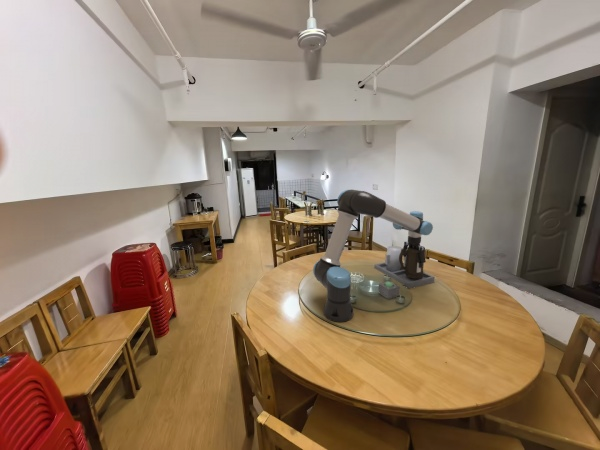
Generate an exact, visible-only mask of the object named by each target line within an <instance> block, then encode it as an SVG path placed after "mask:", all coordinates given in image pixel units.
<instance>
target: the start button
mask: <svg viewBox="0 0 600 450" xmlns="http://www.w3.org/2000/svg"><path fill="white" fill-rule="evenodd" d="M385 282H386V285H385V286H387V287H388V288H389V287H392V286H393V283H394V282H392V281H391V282H387V281H385Z"/></svg>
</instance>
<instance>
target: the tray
mask: <svg viewBox="0 0 600 450" xmlns="http://www.w3.org/2000/svg"><path fill="white" fill-rule="evenodd" d="M403 265H404V262H403ZM405 267H406V266H405ZM373 269H375V270H377V271H379V272H381V273H383V274H384V275H386V276H388V277H389V278H391V279H393V280H395V281H397V282H399V283H401V284H402V286H403V287H404V286H405V287H404V288H406V287H407V288H406V289H408V288H409V289H408V290H411V288H412V289H415V288H419V287H423V286H425V285H426V286H427V285H429V283H430V284H433V282H434V283H435V280H436V279H435V276H434V275H431V274H429V273H426V272H425V271H423V277H422V278H420V279H415V278H410V277H408V276H406V274H405V272H406V271H405V270H400V271H395V272H390V271H388V270H387V269H386V264H385V262H381V263H375V264H374V267H373ZM422 285H423V286H422ZM418 286H419V287H418ZM414 287H415V288H414Z"/></svg>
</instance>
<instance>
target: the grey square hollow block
mask: <svg viewBox="0 0 600 450" xmlns="http://www.w3.org/2000/svg"><path fill="white" fill-rule="evenodd" d="M386 282H392V281H390V280H388V281H384V282H379V283H378V291H379V292H380V295H381V296H382V297H384V298H385V299H387V300H391V299H394V298H397V297H396V296H398V295H399V296H400V286H399V285H397V284H395V283H394V282H392V283H393V286H392V287H389V288H388V287H387V286H385V285H386ZM378 291H377V292H378ZM399 296H398V297H399Z"/></svg>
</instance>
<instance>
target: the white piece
mask: <svg viewBox="0 0 600 450" xmlns="http://www.w3.org/2000/svg"><path fill="white" fill-rule="evenodd" d="M401 249H403V247H402V246H397V245H390V246H388V247H387V249H386V251H387V252H386V253H387V254H385V257H384V258H385V260H384V263H385V264H386V269H387V270H388V271H390V272H395V271H400V267H401V265H400V262H399V255H400V253H401ZM403 259H404V256H403V257H402V261H403V262H404V260H403Z"/></svg>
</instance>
